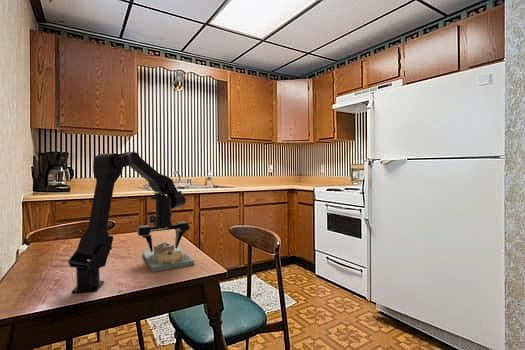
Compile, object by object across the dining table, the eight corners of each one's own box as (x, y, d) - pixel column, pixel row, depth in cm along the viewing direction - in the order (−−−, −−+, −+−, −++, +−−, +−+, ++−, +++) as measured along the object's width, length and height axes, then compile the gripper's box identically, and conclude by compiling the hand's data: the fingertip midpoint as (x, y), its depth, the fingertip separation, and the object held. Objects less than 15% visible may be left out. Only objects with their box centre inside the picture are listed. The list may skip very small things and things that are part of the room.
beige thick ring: (175, 253, 112) (175, 245, 112) (156, 256, 109) (156, 248, 109) (171, 249, 118) (171, 241, 118) (153, 252, 115) (152, 244, 115)
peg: (166, 253, 113) (166, 243, 112) (161, 253, 112) (160, 243, 112) (167, 251, 115) (167, 241, 114) (161, 252, 114) (161, 242, 114)
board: (193, 264, 104) (193, 252, 103) (152, 272, 96) (152, 258, 96) (178, 249, 123) (178, 239, 122) (142, 255, 116) (142, 244, 115)
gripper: (182, 206, 125) (182, 242, 125) (134, 209, 115) (135, 248, 116) (189, 209, 115) (190, 248, 115) (138, 213, 106) (139, 256, 106)
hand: (164, 250), depth 113 cm, fingers open, 9 cm apart
